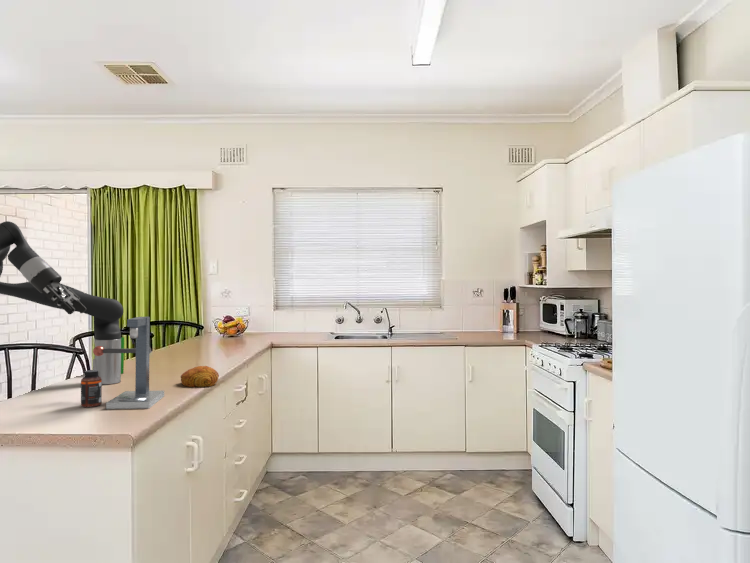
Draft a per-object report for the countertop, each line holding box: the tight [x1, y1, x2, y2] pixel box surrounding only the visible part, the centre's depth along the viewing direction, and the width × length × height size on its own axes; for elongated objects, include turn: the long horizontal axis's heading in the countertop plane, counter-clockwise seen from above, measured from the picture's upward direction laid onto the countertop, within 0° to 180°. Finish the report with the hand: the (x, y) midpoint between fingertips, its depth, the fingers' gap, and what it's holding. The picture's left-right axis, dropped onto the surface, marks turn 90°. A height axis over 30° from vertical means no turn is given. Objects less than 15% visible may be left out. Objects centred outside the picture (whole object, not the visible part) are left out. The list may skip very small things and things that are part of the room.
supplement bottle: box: [80, 369, 103, 408], centre depth 174 cm, size 6×6×11 cm
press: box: [105, 316, 165, 410], centre depth 179 cm, size 13×18×28 cm
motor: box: [121, 336, 125, 375], centre depth 234 cm, size 10×9×20 cm
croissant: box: [180, 365, 220, 388], centre depth 212 cm, size 14×16×8 cm
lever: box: [92, 346, 152, 356], centre depth 188 cm, size 19×4×4 cm, turn 97°
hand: (78, 312), depth 168 cm, fingers open, 8 cm apart
